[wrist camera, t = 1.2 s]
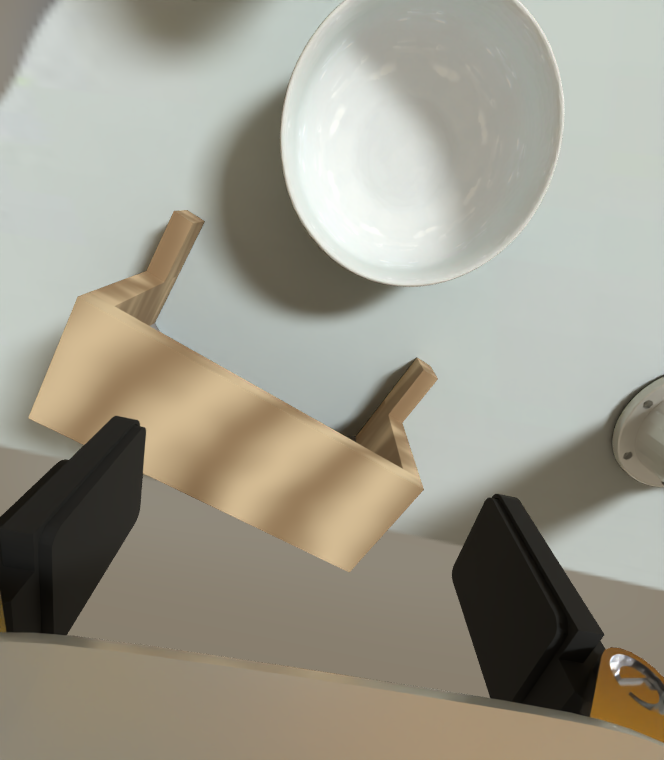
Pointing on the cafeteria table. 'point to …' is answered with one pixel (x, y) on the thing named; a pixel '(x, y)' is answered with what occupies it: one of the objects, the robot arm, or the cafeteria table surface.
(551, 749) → the robot arm
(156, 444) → the wooden step block
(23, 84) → the cafeteria table surface
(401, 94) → the cereal bowl
